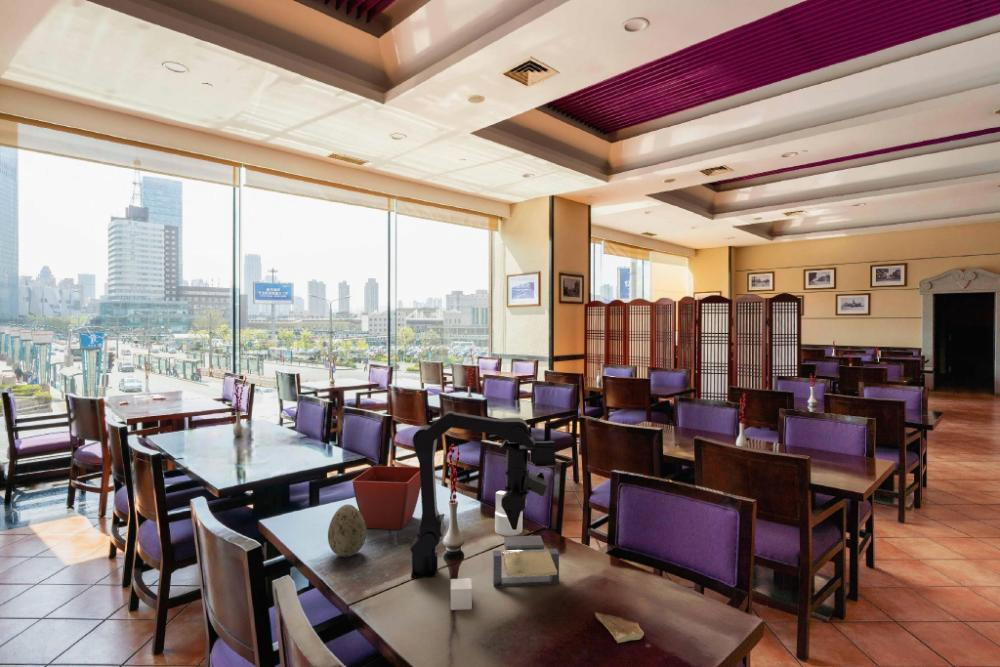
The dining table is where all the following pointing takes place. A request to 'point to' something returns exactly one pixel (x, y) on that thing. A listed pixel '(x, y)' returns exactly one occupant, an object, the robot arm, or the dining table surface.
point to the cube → (461, 594)
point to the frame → (523, 580)
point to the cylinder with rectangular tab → (504, 519)
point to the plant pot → (387, 495)
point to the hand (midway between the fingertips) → (516, 522)
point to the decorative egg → (346, 531)
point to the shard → (620, 627)
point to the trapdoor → (527, 557)
